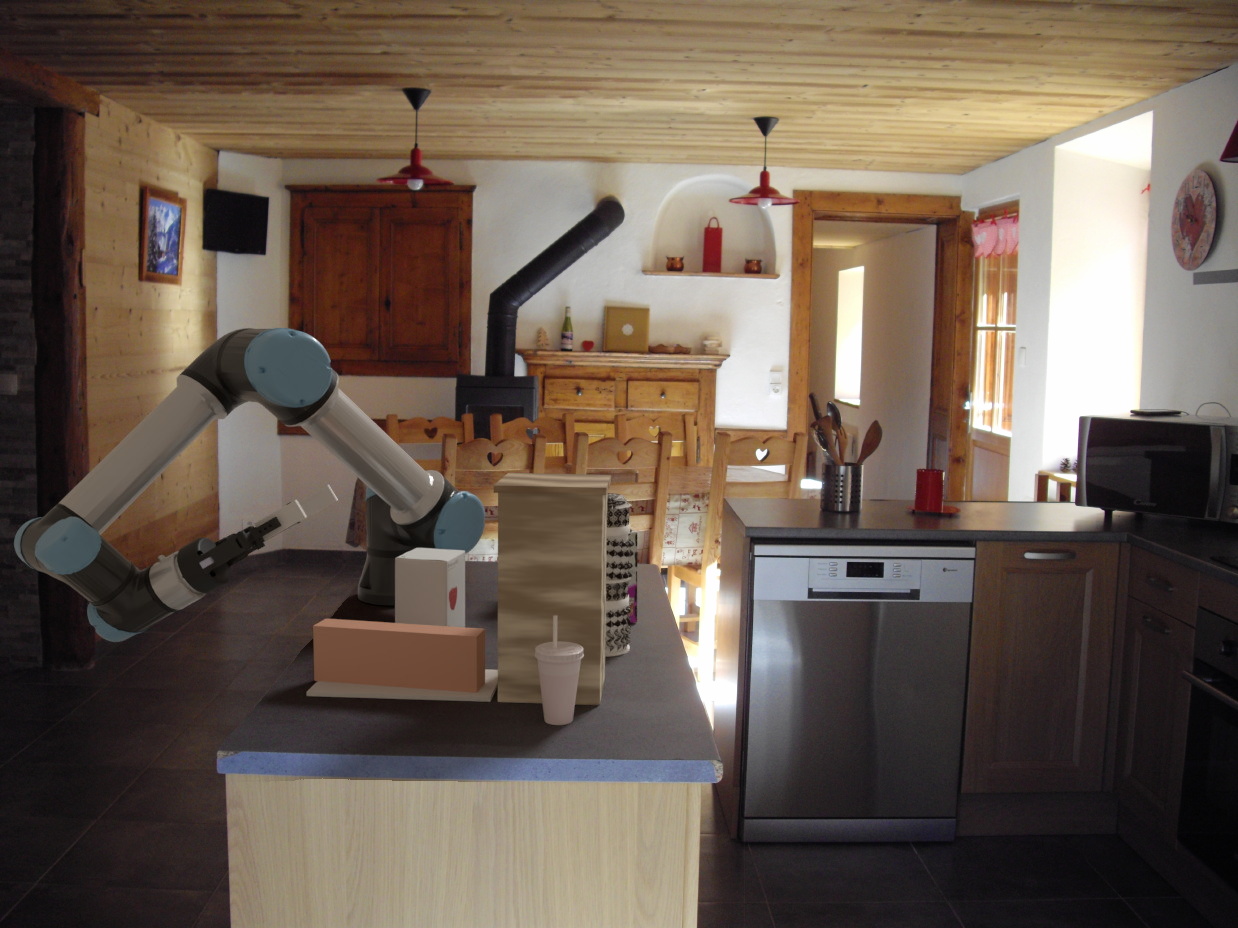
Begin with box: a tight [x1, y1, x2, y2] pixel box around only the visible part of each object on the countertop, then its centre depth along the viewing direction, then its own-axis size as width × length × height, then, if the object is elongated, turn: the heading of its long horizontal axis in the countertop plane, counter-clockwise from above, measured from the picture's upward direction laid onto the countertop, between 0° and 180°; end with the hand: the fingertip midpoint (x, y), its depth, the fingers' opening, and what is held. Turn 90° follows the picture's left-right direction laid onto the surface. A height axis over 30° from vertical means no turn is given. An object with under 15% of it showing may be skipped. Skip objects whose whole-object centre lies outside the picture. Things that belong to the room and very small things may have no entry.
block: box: [312, 618, 486, 693], centre depth 148 cm, size 4×24×8 cm, turn 80°
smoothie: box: [535, 615, 584, 726], centre depth 136 cm, size 6×6×14 cm
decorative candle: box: [605, 492, 634, 658], centre depth 167 cm, size 9×9×25 cm
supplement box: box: [394, 548, 466, 628], centre depth 169 cm, size 9×9×15 cm
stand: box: [493, 472, 612, 706], centre depth 147 cm, size 13×15×30 cm
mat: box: [306, 668, 498, 703], centre depth 150 cm, size 12×26×1 cm, turn 87°
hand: (318, 500), depth 147 cm, fingers open, 13 cm apart
